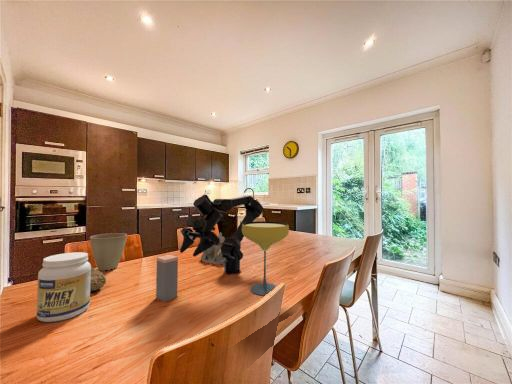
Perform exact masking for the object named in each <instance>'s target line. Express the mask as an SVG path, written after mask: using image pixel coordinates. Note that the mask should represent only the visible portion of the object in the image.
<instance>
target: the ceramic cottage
mask: <svg viewBox="0 0 512 384" xmlns="http://www.w3.org/2000/svg"><path fill="white" fill-rule="evenodd" d="M222 234H223V233H222V232H219V234H218V235H217V236H218V237H219V239H220V242H219V244H218V245H217V246H215V245H214V246H213V247H210V248H208V249H207V250H205V251H203V252H202V253H201V256H200V259H201V260H202V261H201V260H200V261H201V262H203V261H205V262H204V263H207V262H209V263H208V264H211V263H213V264H212V265H218V264H219V265H224V262H225V258H223V256H222V253H221V246H222V243H223V242H224V240H225V236H223V235H222Z"/></svg>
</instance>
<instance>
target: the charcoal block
mask: <svg viewBox="0 0 512 384" xmlns="http://www.w3.org/2000/svg"><path fill="white" fill-rule="evenodd" d="M178 265H179V257H178V256H176V255H173V254H167V255H162V256H161V255H160V256H157V257H156V275H155V277H156V282H155V284H156V285H155V286H156V287H155V298H156V299H157V300H159V301H161V302H164V303H166V302H168V301H170V300H172V299H173V300H174V299H175V298H178V277H179V276H178V274H179V273H178V271H179V269H178V268H179V266H178Z"/></svg>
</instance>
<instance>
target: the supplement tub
mask: <svg viewBox="0 0 512 384" xmlns="http://www.w3.org/2000/svg"><path fill="white" fill-rule="evenodd" d="M88 260H89V254H88V253H87V252H83V251H81V252H80V251H77V252H74V251H73V252H65V253H59V254H53V255H49V256H47V257H44V258H43V260H42V264H41V265H42V268H41V269H40V270H39V271H38V274H37V291H36V295H37V296H36V318H37V319H38V321H40V322H44V323H52V322H61V321H65V320H68V319H72V318H74V317H77V316H78V315H81V314H82V313H84V312H85V311H87V310H88V308H89V307H90V303H91V291H90V281H91V267H92V264H91V263H90V262H89V261H88Z"/></svg>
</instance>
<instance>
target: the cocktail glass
mask: <svg viewBox="0 0 512 384" xmlns="http://www.w3.org/2000/svg"><path fill="white" fill-rule="evenodd" d="M289 233H290V226H289V224H288V223H286V222H278V221H265V220H264V221H263V220H262V221H253V222H246V223H243V224H242V234H243V235H244V238H246V239H247V240H249V241H251V242H252V243H255V244H257V246H259V248H260V249H261V250H262V251H263V282H262V283H261V282H259V283H256V284H253V285H251V286H250V291H251V292H252V293H253V294H254V295H258V296H262V297H264V296H265V295H266V294H268V293H269V292H270V291H272V290H273V289H274V288H275V287H276V286H277V285H275V284H272V283H267V273H266V271H267V270H266V269H267V268H266V266H267V263H266V262H267V261H266V259H267V256H266V255H267V251H268V250H269V249H270V247H271V246H272V245H274V244H276V243H279V242H281V241H283V240H284V239H285V238H286V237H288V235H289Z"/></svg>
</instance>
